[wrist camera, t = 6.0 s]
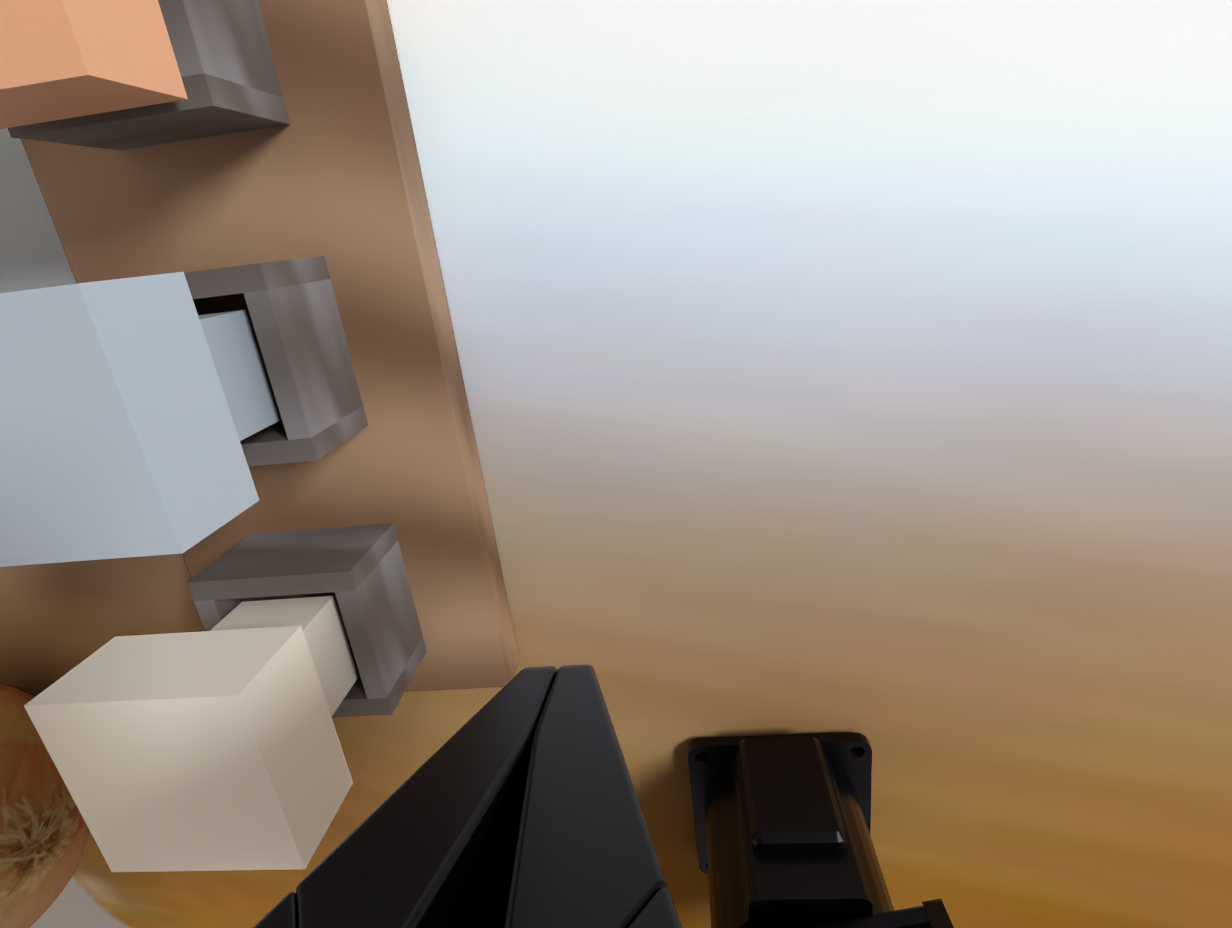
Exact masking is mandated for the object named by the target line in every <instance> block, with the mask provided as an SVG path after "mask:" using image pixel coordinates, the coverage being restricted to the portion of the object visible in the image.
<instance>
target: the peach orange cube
mask: <svg viewBox="0 0 1232 928" xmlns="http://www.w3.org/2000/svg"><path fill="white" fill-rule="evenodd" d="M187 99H188V98H187V94H186V91H185V88H184V85H183V81H182V78H181V75H180V71H179V68H178V65H177V61H176V58H175V55H174V52H173V48H172V45H171V42H170V38H169V35H168V32H167V28H166V25H165V22H164V19H163V15H162V12H161V9H160V5H159V2H158V0H0V129H4V128H10V127H17V126H23V125H29V124H36V123H42V122H48V121H54V120H61V119H67V118H73V117H80V116H86V115H92V114H99V113H105V112H111V111H117V110H124V109H130V108H136V107H143V106H149V105H155V104H161V103H168V102H174V101H180V100H187Z"/></svg>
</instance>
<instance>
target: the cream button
mask: <svg viewBox="0 0 1232 928" xmlns="http://www.w3.org/2000/svg"><path fill="white" fill-rule="evenodd" d="M357 678H358V674H357V671H356V667H355V664H354V661H353V658H352V654H351V651H350V648H349V645H348V641H347V638H346V635H345V631H344V628H343V625H342V622H341V618H340V615H339V612H338V609H337V605H336V602H335V599H334V596H323V597H307V598H292V599H276V600H261V601H246V602H241V603H240V604H239V605H238V606H237V607H236V608H234V609H233V610H232V611H231V612H230V613H229V614H228V615H227V616H226V617H224V618H223V619H222V620H221V621H220V622H219V623H218V624H217V625H216V626H214V627H213V628H212V629H211V630H210V631H201V632H184V633H167V634H151V635H134V636H117V637H114V638H113V639H111V640H110V641H109V642H107V643H106V644H105V645H103V646H102V647H101V648H99V649H98V650H97V651H95V652H94V653H93V654H91V655H90V656H89V657H88V658H86V659H85V660H84V661H82V662H81V663H80V664H78V665H77V666H76V667H74V668H73V669H72V670H70V671H69V672H68V673H66V674H65V675H64V676H62V677H61V678H60V679H58V680H57V681H56V682H54V683H53V684H52V685H51V686H49V687H48V688H47V689H45V690H44V691H43V692H41V693H40V694H39V695H37V696H36V697H35V698H33V699H32V700H31V701H29V702H28V703H27V704H25V705H24V707H25V709H26V711H27V713H28V715H29V717H30V719H31V720H32V722H33V724H34V726H35V728H36V730H37V732H38V734H39V736H40V737H41V739H42V741H43V743H44V745H45V747H46V749H47V751H48V753H49V754H50V756H51V758H52V760H53V762H54V764H55V766H56V768H57V770H58V771H59V773H60V775H61V777H62V779H63V781H64V783H65V785H66V787H67V788H68V790H69V792H70V794H71V796H72V798H73V800H74V802H75V804H76V805H77V807H78V809H79V811H80V813H81V815H82V817H83V819H84V821H85V822H86V824H87V826H88V828H89V830H90V832H91V834H92V836H93V838H94V839H95V841H96V843H97V845H98V847H99V849H100V851H101V853H102V855H103V856H104V858H105V860H106V862H107V864H108V866H109V868H110V870H111V872H155V871H221V870H286V869H306V867H307V865H308V863H309V862H310V860H311V858H312V856H313V854H314V853H315V851H316V849H317V847H318V845H319V844H320V842H321V840H322V838H323V836H324V835H325V833H326V831H327V829H328V827H329V826H330V824H331V822H332V820H333V819H334V817H335V815H336V813H337V811H338V810H339V808H340V806H341V804H342V802H343V801H344V799H345V797H346V795H347V793H348V792H349V790H350V788H351V786H352V785H353V780H352V777H351V774H350V771H349V768H348V765H347V762H346V759H345V756H344V753H343V750H342V747H341V744H340V741H339V738H338V735H337V732H336V729H335V726H334V723H333V720H332V715H333V714H334V712H335V711H336V709H337V708H338V706H339V705H340V704H341V702H342V701H343V699H344V698H345V696H346V695H347V693H348V692H349V690H350V689H351V687H352V686H353V684H354V683H355V681H356V680H357Z"/></svg>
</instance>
